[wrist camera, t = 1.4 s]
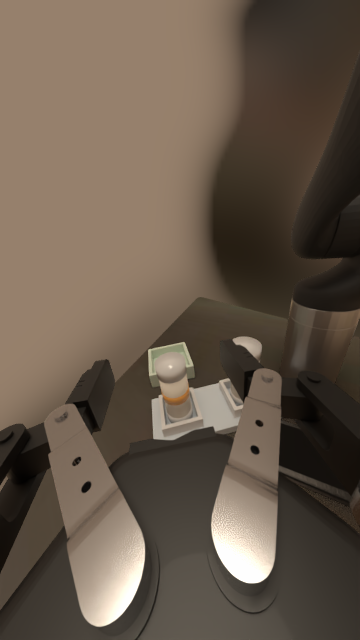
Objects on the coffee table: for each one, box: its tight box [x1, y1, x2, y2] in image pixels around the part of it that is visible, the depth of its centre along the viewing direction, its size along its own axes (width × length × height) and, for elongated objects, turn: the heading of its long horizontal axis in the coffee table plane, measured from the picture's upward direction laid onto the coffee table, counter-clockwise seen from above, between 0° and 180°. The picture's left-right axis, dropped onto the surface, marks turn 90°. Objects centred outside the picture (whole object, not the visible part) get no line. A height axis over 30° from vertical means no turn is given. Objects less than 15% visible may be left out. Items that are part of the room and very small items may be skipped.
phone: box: [278, 420, 351, 507], centre depth 24 cm, size 8×1×15 cm
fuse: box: [230, 337, 262, 406], centre depth 30 cm, size 5×5×12 cm
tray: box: [148, 342, 195, 388], centre depth 43 cm, size 10×10×4 cm
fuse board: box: [152, 378, 243, 440], centre depth 32 cm, size 22×9×4 cm, turn 101°
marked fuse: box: [154, 352, 193, 424], centre depth 28 cm, size 5×5×12 cm
